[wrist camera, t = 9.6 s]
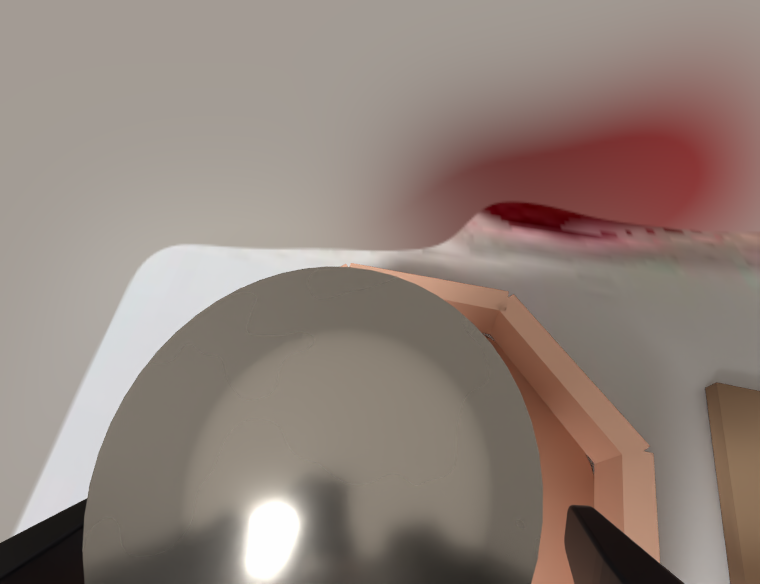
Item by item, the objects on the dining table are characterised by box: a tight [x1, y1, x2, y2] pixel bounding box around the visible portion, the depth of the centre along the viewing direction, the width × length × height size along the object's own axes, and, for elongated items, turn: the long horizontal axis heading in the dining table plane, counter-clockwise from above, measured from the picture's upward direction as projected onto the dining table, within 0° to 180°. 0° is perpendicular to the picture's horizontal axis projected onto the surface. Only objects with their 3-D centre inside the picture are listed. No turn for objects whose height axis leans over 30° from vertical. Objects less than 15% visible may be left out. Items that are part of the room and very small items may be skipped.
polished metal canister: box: [82, 267, 543, 584], centre depth 11 cm, size 6×6×12 cm
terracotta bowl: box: [341, 263, 660, 584], centre depth 15 cm, size 18×18×4 cm
